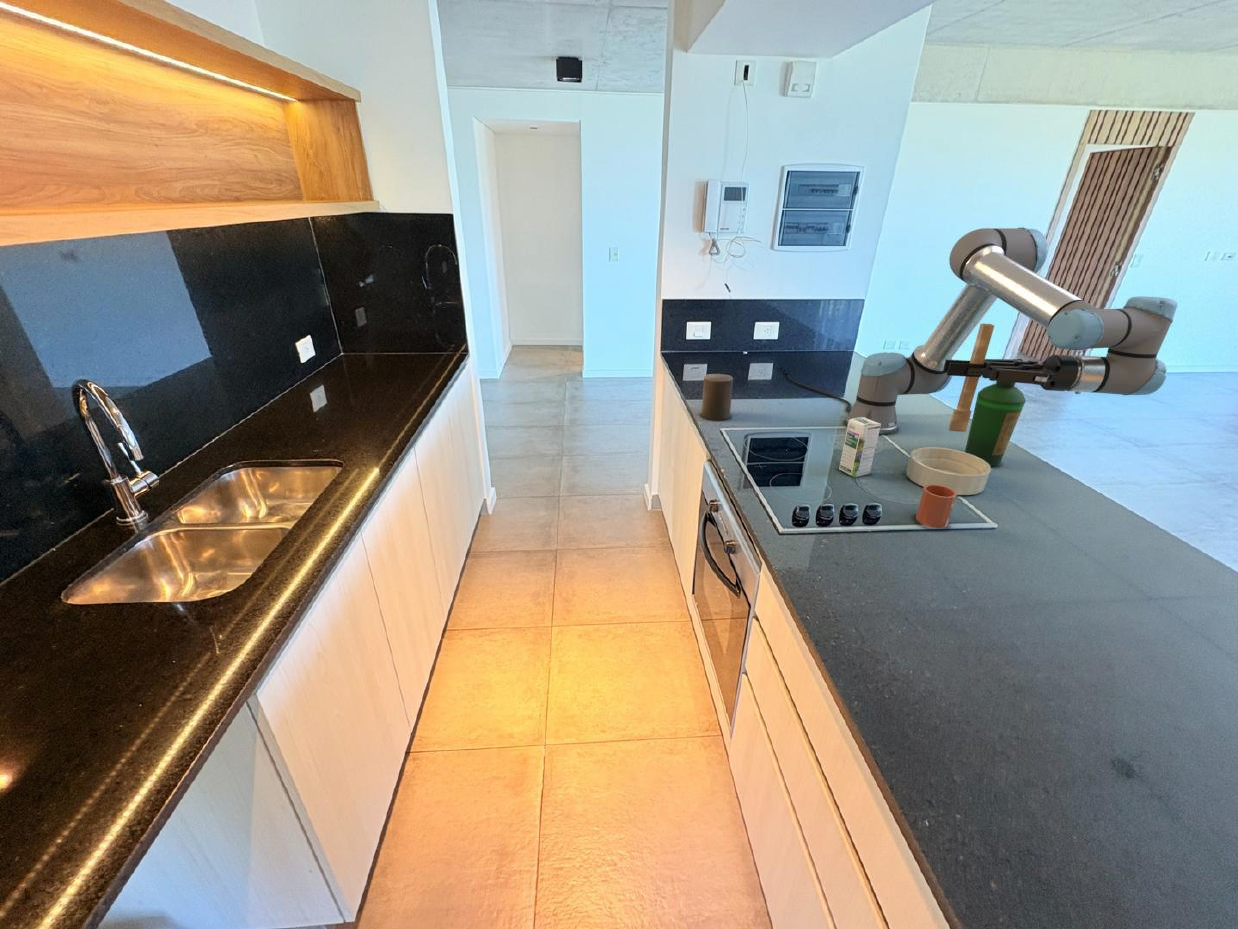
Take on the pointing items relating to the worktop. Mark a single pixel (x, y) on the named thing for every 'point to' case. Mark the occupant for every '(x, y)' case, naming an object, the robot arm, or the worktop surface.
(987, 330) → the stirring stick
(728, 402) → the pillar candle
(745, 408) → the worktop surface
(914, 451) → the bowl
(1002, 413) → the bottle
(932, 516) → the utensil pot
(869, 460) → the syrup box
